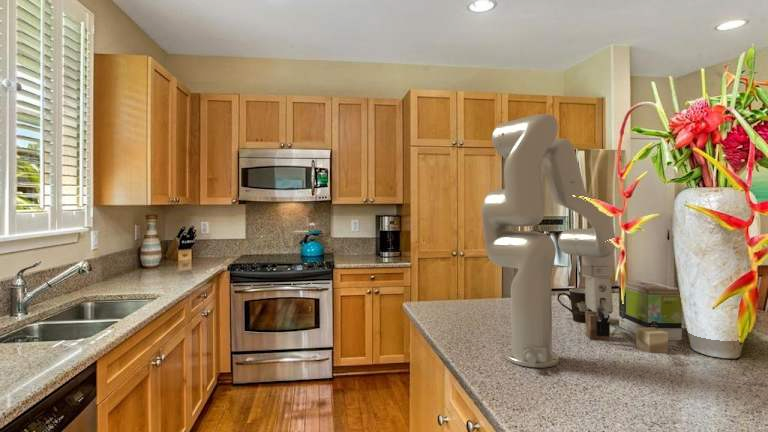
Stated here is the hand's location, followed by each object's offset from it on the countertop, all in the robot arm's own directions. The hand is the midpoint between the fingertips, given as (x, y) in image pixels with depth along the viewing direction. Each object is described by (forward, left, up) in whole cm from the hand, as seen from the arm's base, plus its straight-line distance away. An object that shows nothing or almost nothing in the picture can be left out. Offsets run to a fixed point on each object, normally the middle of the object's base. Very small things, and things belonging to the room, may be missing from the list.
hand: (597, 330), depth 120 cm
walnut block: (0, 0, -2) cm, 2 cm away
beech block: (-8, -11, -2) cm, 14 cm away
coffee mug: (+20, 0, -2) cm, 20 cm away
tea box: (+7, -16, -2) cm, 17 cm away
